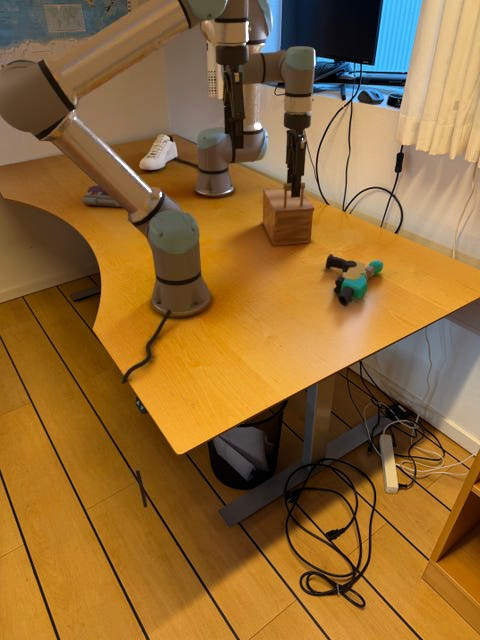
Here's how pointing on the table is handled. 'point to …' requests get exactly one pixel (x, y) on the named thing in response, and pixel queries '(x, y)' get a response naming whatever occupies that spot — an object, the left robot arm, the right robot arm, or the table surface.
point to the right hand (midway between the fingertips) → (293, 193)
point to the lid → (287, 200)
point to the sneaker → (160, 153)
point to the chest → (287, 225)
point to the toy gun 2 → (352, 277)
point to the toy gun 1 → (98, 197)
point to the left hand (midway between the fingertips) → (233, 140)
